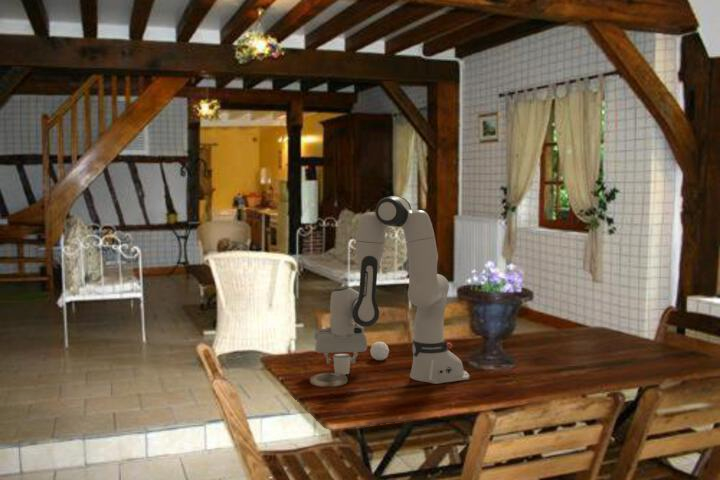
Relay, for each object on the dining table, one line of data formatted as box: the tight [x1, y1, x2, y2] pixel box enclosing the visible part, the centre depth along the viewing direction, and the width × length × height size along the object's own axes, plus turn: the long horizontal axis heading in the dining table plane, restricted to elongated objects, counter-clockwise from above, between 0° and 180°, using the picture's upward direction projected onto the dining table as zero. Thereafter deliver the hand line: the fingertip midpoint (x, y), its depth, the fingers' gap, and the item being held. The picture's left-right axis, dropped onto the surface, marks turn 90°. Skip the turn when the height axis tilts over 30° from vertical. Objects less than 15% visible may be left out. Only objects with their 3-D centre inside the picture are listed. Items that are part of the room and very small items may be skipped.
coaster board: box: [309, 372, 348, 388], centre depth 268 cm, size 14×14×1 cm
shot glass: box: [332, 353, 352, 376], centre depth 279 cm, size 7×7×7 cm
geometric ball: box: [369, 341, 390, 361], centre depth 298 cm, size 8×8×8 cm
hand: (340, 363), depth 279 cm, fingers open, 8 cm apart
